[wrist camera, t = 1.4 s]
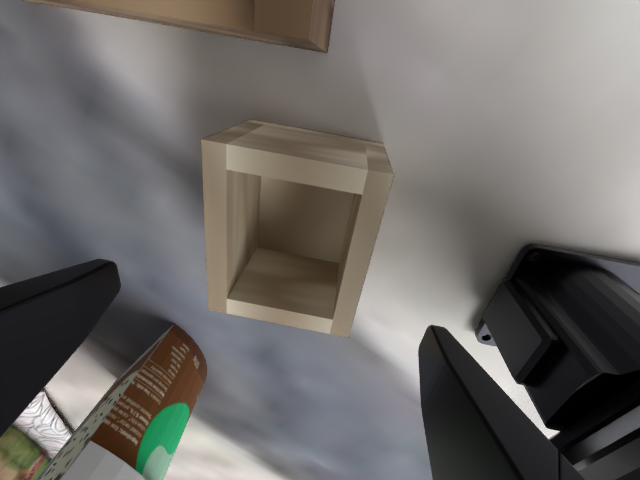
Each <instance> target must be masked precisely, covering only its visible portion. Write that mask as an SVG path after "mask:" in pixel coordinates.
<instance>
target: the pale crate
mask: <svg viewBox="0 0 640 480" xmlns="http://www.w3.org/2000/svg"><path fill="white" fill-rule="evenodd" d="M201 152H202V175H203V199H204V223H205V247H206V270H207V294H208V310H213V311H218V312H223V313H228V314H233V315H238V316H243V317H248V318H253V319H258V320H263V321H268V322H273V323H278V324H283V325H288V326H293V327H298V328H303V329H308V330H313V331H318V332H323V333H328V334H333V335H338V336H343V337H348V338H349V334H350V331H351V327H352V323H353V320H354V316H355V313H356V309H357V306H358V302H359V298H360V295H361V291H362V288H363V284H364V281H365V277H366V274H367V270H368V266H369V263H370V259H371V256H372V252H373V249H374V245H375V241H376V238H377V234H378V231H379V227H380V224H381V220H382V217H383V213H384V209H385V206H386V202H387V199H388V195H389V192H390V188H391V185H392V181H393V177H394V173H393V170H392V167H391V164H390V161H389V159H388V156H387V153H386V150H385V147H384V144H383V143H378V142H372V141H367V140H361V139H356V138H350V137H345V136H339V135H334V134H328V133H323V132H317V131H312V130H306V129H301V128H295V127H289V126H284V125H278V124H273V123H267V122H262V121H256V120H248V121H246V122H243V123H241V124H238V125H236V126H233V127H231V128H228V129H226V130H223V131H221V132H218V133H216V134H213V135H211V136H208V137H206V138H203V139H201Z"/></svg>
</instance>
